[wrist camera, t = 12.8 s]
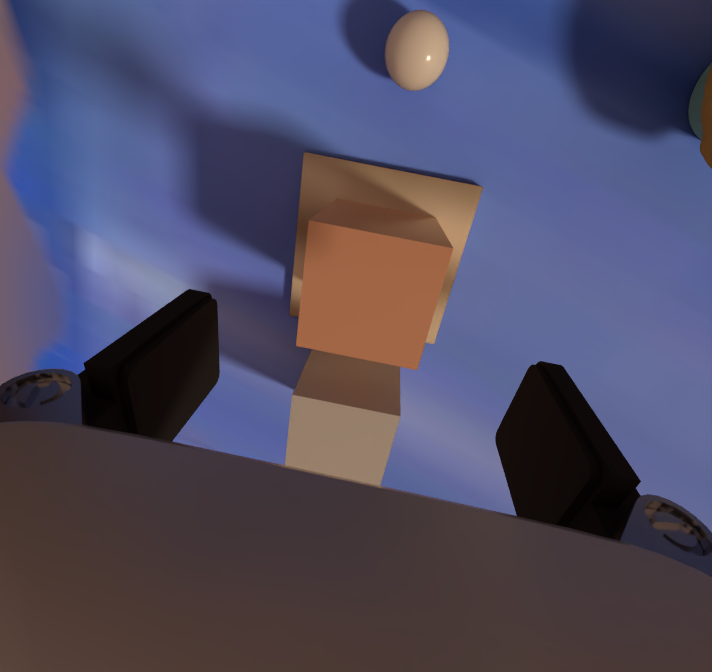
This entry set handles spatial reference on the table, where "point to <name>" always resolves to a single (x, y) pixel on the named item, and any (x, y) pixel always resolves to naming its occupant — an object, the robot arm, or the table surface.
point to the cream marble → (416, 50)
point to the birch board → (388, 191)
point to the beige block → (344, 417)
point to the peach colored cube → (371, 282)
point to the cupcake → (702, 113)
